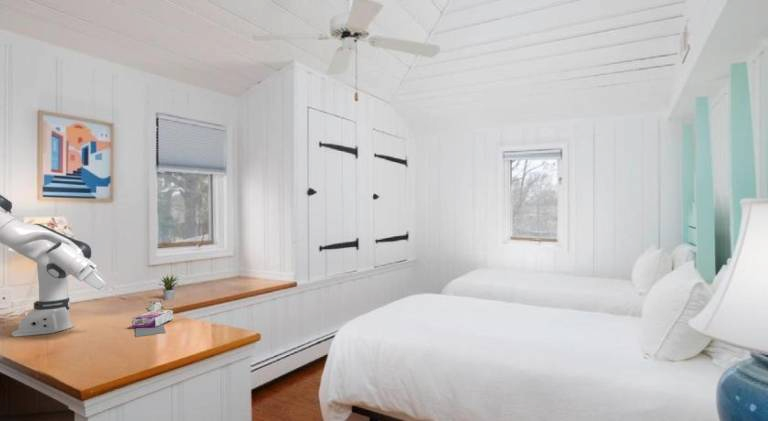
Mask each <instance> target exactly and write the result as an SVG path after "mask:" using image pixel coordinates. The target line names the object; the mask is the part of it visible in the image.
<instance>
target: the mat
mask: <svg viewBox="0 0 768 421" xmlns="http://www.w3.org/2000/svg"><path fill="white" fill-rule="evenodd" d="M161 334H166V329H165V326H164V323H163V324H161V325H159V326H157V327H147V328H135V338H139V337H146V336H153V335H154V336H155V335H161Z"/></svg>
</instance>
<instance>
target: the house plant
mask: <svg viewBox="0 0 768 421" xmlns="http://www.w3.org/2000/svg"><path fill="white" fill-rule="evenodd" d="M180 277H181V276H174V275H173V274H171V275H170V278H169V275H168V274H166V276H165V277H164V276H162V279H161V278H159V280H160V281H161V282H162V283H163V284H161V283H159V284H158V286H163V287H164V289H162V293H163V297H164V300H165V301H169V300H170V301H172V300H174V298H175V295H176V294H175V293H176V288H174V287H175V285H178V280H180V279H179V278H180ZM176 281H177V282H176Z"/></svg>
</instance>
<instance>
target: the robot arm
mask: <svg viewBox="0 0 768 421" xmlns="http://www.w3.org/2000/svg"><path fill="white" fill-rule="evenodd" d="M12 209H13V203H12V201H11V200H10V199H9V197H8V196H6V195H5V194H3V193H1V192H0V244H1V245H4V246H6V247H8V248H9V249H11V250H13V251H15V252H17V253H18V254H19V255H22V256H24V257H26V258H28V260H31V261H33V262H34V263H36V270H37V282H38V300H35V301H34V303H33V310H32V311H30V312H29V313H27V315H25V316H24V317H22V319H20V320H19V323H18V325H17V326H18V327H17V329H16V330H14V331H12V333H11V337H13V338H15V337H27V336H37V335H45V334H53V333H58V332H60V331H64V330H68V329H70V328H73V327H74V325H73V322H72V319H71V315H70V307H71V306H70V304H71V303H70V297H69V283H68V282H69V280H68V277H69V276H70V275H71V276H72V277H73V278H74V279H76V280H78V281H79V282H84V283H86V284H88V285H89V286H91V287H93V288H94V289H96V290H99V291H100V290H101V289H104V290H106V291H108V292H109V293H112V292H114V290H115V288H114V287H112V286H111V285H110V284H109V283H108V278H107V277H106V276H105V275H103V274H102V273H100V272H99V270H98V269H97V267H98V265H97V264H96V263H94V262H93V261H92V260H90V259H91V258H92V248H91V246H90V245H89V244H88V243H86V242H83V241H80V240H78V239H74V238H72V237H70V236H68V235H65V234H63V233H62V232H59V231H58V230H54V229H53V228H50V227H48V226H45V225H44V224H40V223H28V222H24V221H21V220H19V219H18V218H16V217H14V216H12V215H10V214H12ZM8 213H10V214H8Z"/></svg>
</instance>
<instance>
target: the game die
mask: <svg viewBox="0 0 768 421" xmlns="http://www.w3.org/2000/svg"><path fill="white" fill-rule="evenodd" d="M145 310H146V311H147V312H150V311H158V310H166V308H164V306H163V305H162V300H160V301H154V302H153V301H151V300H150V301H149V305H148V306H147V308H145Z"/></svg>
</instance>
